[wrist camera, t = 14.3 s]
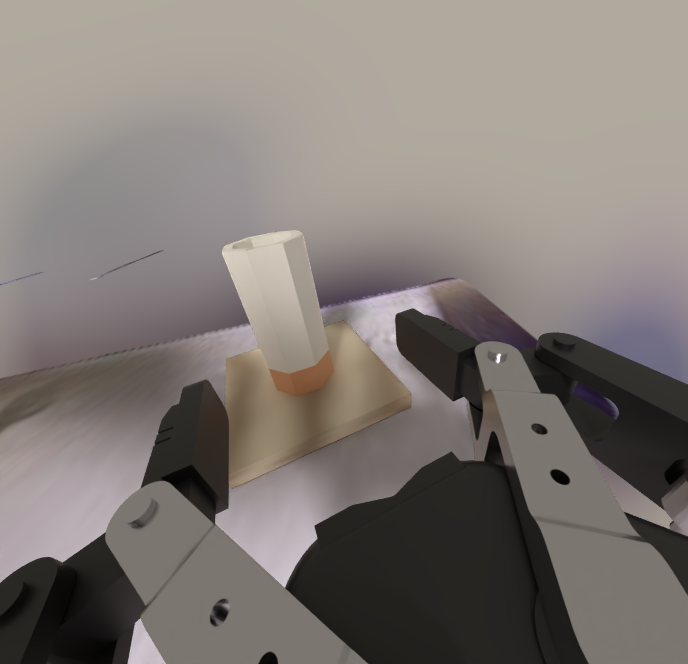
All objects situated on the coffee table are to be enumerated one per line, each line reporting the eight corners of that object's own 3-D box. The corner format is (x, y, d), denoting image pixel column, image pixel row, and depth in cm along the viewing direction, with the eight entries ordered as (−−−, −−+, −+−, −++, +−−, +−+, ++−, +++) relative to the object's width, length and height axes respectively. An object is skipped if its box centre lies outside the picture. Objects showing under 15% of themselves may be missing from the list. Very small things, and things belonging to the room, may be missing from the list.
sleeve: (264, 386, 22) (205, 252, 16) (297, 352, 26) (261, 232, 20) (312, 401, 20) (265, 250, 14) (341, 361, 24) (315, 228, 18)
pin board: (231, 488, 17) (188, 431, 13) (231, 369, 28) (208, 323, 25) (411, 406, 20) (410, 346, 17) (345, 330, 31) (337, 285, 28)
